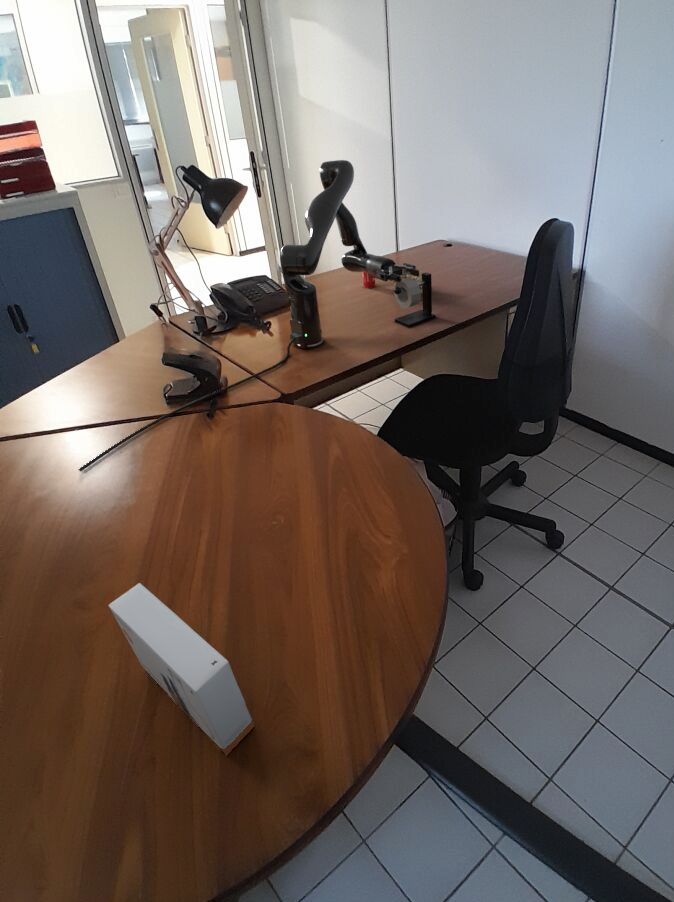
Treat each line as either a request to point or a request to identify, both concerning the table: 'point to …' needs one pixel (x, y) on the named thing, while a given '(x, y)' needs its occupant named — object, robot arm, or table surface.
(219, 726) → the skincare box
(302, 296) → the robot arm
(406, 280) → the tape roll
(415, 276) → the mineral formation
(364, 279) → the beverage can
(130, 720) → the table surface
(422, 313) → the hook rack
